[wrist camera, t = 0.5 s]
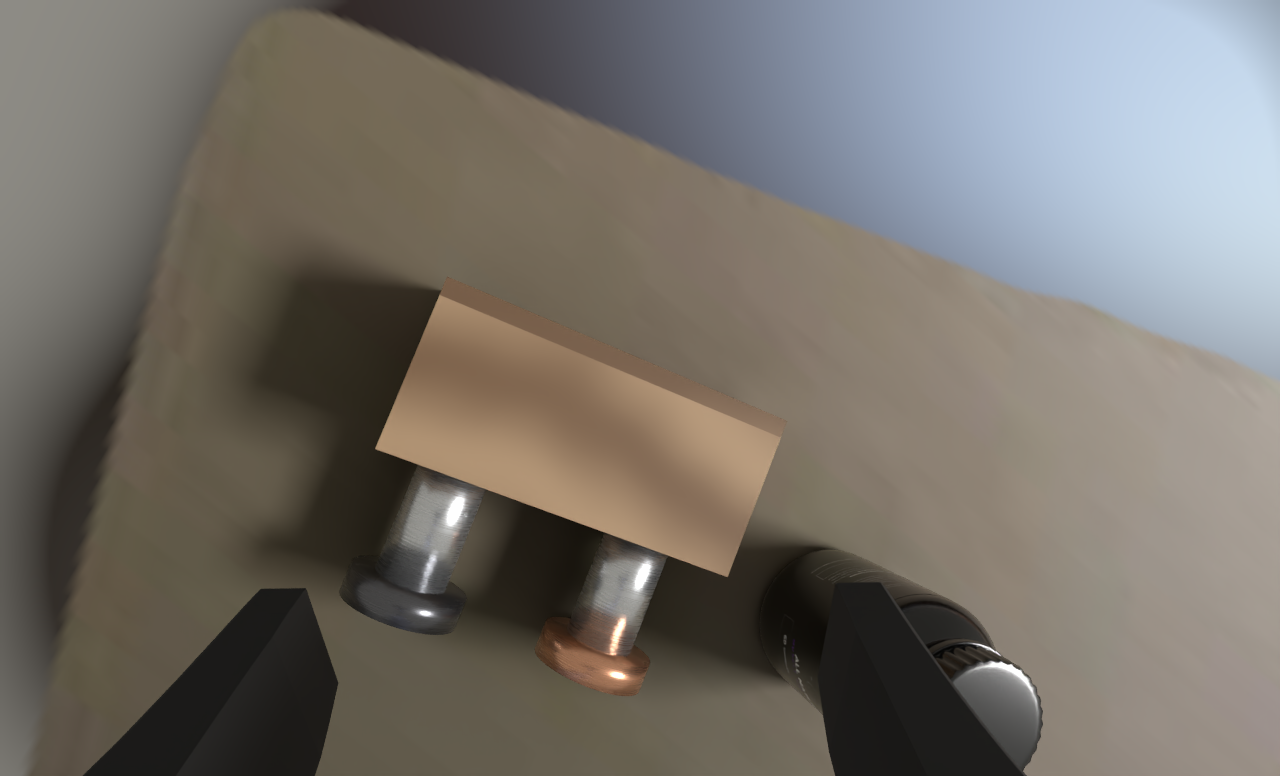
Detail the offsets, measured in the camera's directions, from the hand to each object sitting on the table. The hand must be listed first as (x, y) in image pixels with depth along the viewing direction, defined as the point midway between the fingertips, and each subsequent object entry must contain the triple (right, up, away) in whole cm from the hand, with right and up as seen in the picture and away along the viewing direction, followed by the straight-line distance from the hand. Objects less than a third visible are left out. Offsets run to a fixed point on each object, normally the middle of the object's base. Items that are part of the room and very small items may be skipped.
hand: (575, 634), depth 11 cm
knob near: (-8, -2, +22) cm, 24 cm away
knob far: (-1, -5, +24) cm, 25 cm away
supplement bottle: (+10, -8, +28) cm, 30 cm away
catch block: (-2, +2, +24) cm, 24 cm away
